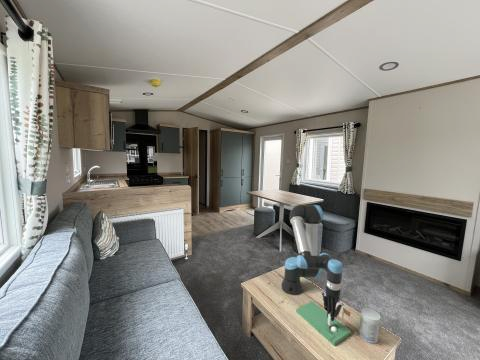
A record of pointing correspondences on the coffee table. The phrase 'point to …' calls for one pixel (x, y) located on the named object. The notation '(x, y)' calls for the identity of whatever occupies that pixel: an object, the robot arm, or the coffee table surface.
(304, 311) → the putting strip
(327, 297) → the robot arm
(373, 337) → the supplement tub
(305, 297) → the coffee table surface
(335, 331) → the ball
